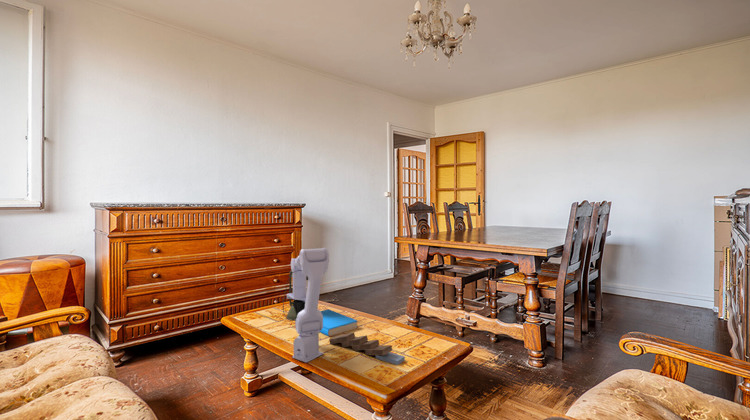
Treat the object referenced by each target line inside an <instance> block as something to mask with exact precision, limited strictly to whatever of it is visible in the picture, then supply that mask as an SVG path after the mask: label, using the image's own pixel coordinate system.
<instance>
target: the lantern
mask: <svg viewBox="0 0 750 420" xmlns="http://www.w3.org/2000/svg"><path fill="white" fill-rule="evenodd" d="M288 273H289V275H288V279H287V283H286V285H285V286H286V288H285V290H284V291H285V292H284V294H286V293H287V287H289V288H288V294H289V293H291V294H293V288H292V282H293V272H292V270H290V271H289V272H288ZM306 281H308V276H306ZM288 283H289V285H288ZM285 298H286V295H283V300H285ZM288 301H289V302H288V303H289V308H290V309H289V310H288V312H287V314H285V310H284V308H285V305H284V304H285V301H283V304H282V311H283V315H284V318H286V319H287V320H289V321H296V318H297V315H296V312H295V309H294V307H293V305H292V299H290V298H289V299H288ZM317 309H318V310H319V307H317Z"/></svg>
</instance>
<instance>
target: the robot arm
mask: <svg viewBox="0 0 750 420" xmlns="http://www.w3.org/2000/svg"><path fill="white" fill-rule="evenodd" d="M329 262H330V254H329V251H328V248H326V247H322V248H308V249H307V248H306V249H304V248H301V249H300V250H299V255H298V256H297V257H296V258H291V261H290V269H291V270H292V272H293V273H292V274H293V277H292V289H293V290H292V291H293V293H292V292H291V293H289V292H288V293H287V294H286V299H288V300H289V298H290V299H291V302H292V305H293V307H294V309H295V312H296V315H297V318H296V321H295V322H294V325H295V331H296V333H297V334H298V336H297V337H295V338H294V340H293V355H292V357H291V358H293V359H296V360H298V361H301V362H304V363H309V362H310V361H313V360H315V359H317V358H318V357H321V356H323V355H324V354H325V353H324V352H322V351H320V349H319V348H320V347H319V346H320V345H319V344H320V342H319V338H320V337H319V334H321V332H320V330H322V328H323V315H322V313H321V311H322V310H320V309H319V307H318V306H319V300H320V293H321V288H322V287H321V286H322V280H323V276H324V275H325V274H326V273H327V272H328V267H329ZM291 270H290V271H291ZM306 276H308V280H306ZM292 300H293V301H292ZM317 307H318V309H317Z"/></svg>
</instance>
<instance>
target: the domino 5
mask: <svg viewBox="0 0 750 420" xmlns="http://www.w3.org/2000/svg"><path fill="white" fill-rule="evenodd" d="M405 358H406V357H405V356H404V355H400V354H398V353H394V352H392V351H391V352H389V353H387V354H385V355H375V359H376V360H380V361H381V362H382V361H383V362H386V363H389V364H393V365H395V366H399V365H400V364H402V362H403V363H404V361H405V360H406V359H405Z"/></svg>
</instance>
